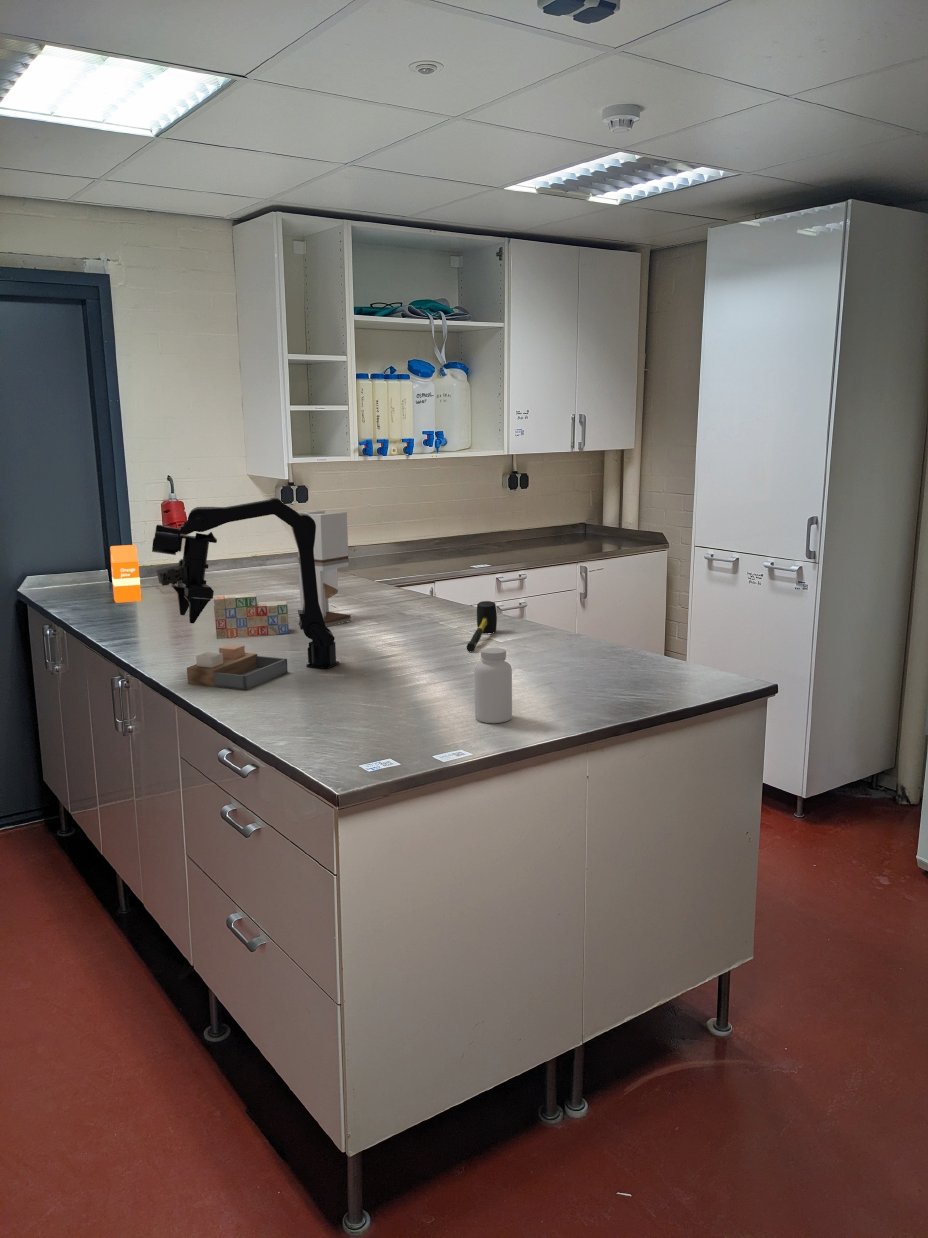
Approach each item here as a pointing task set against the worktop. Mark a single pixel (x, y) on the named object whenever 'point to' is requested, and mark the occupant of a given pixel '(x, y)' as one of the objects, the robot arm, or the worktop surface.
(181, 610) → the robot arm
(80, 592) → the worktop surface
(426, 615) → the worktop surface
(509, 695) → the pill bottle
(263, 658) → the box
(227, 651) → the tile terracotta
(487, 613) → the mallet
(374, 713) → the worktop surface
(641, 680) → the worktop surface
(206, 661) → the tile cream
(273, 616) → the stack of blocks
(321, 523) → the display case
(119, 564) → the orange juice
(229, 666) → the walnut plate
